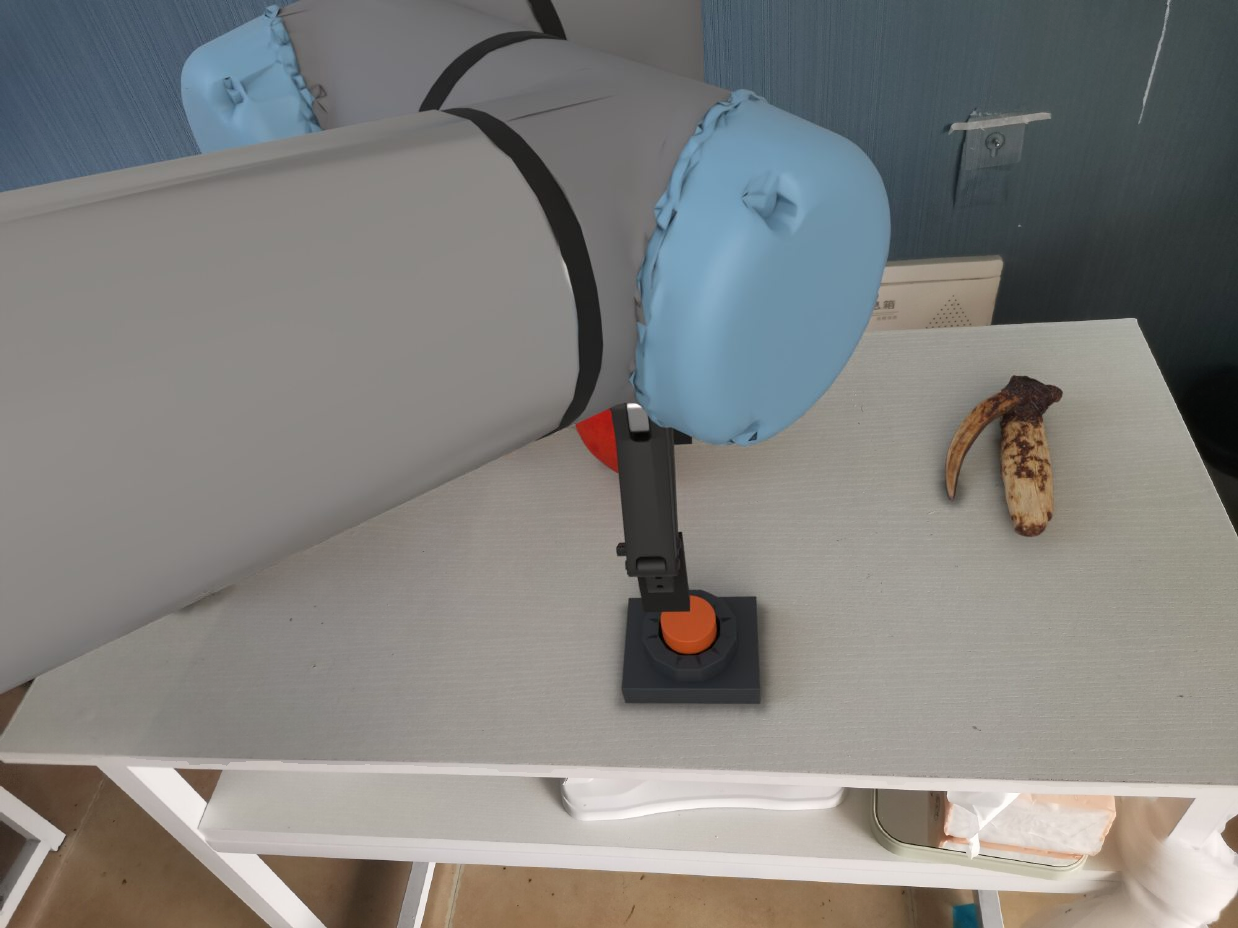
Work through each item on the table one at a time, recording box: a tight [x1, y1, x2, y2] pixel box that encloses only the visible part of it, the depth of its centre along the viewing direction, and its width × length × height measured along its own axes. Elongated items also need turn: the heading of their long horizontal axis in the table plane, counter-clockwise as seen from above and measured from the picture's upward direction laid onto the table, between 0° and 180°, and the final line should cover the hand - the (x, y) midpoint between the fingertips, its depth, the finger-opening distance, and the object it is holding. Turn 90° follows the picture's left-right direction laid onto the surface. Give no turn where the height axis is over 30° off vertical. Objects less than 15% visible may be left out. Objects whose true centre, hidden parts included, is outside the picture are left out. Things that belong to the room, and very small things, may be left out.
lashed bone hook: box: [944, 374, 1064, 538], centre depth 75 cm, size 9×5×18 cm
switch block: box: [621, 588, 761, 705], centre depth 67 cm, size 10×8×4 cm
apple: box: [574, 409, 619, 474], centre depth 79 cm, size 9×9×11 cm
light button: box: [661, 596, 717, 654], centre depth 65 cm, size 4×4×2 cm
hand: (670, 517), depth 56 cm, fingers open, 13 cm apart
